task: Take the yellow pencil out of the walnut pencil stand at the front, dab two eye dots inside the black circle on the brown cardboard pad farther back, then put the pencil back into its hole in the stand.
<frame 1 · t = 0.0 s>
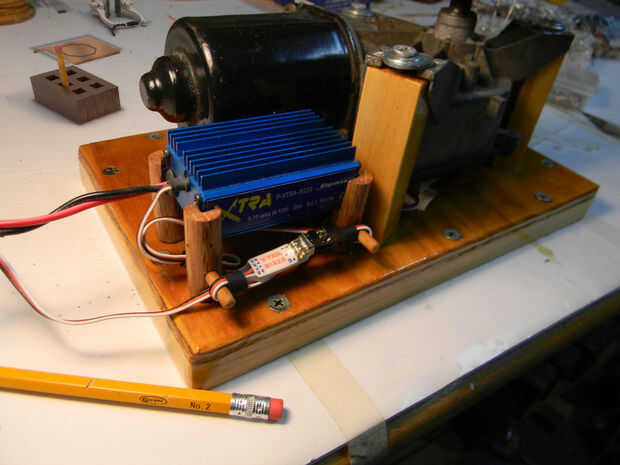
pencil: (71, 112, 97), resting in stand
pad: (78, 52, 120), on the table
bike brake: (121, 23, 141), on the table
stand: (79, 109, 98), on the table
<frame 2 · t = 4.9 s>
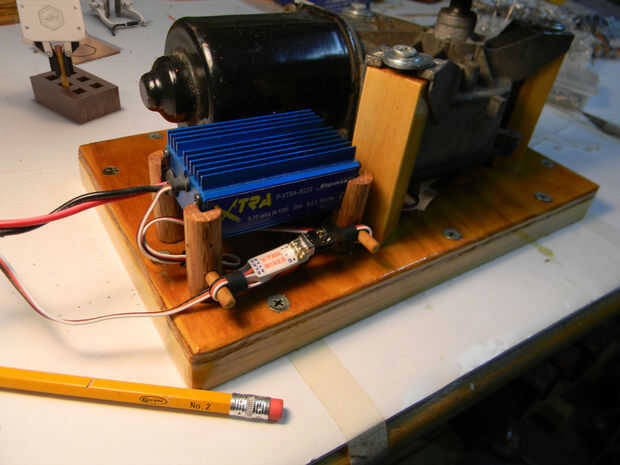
hand: (63, 74, 92), 8 cm above the table, tool pointing down, fingers closed on pencil, 1 cm apart
pencil: (71, 112, 97), resting in stand, touching gripper
everything else where it was.
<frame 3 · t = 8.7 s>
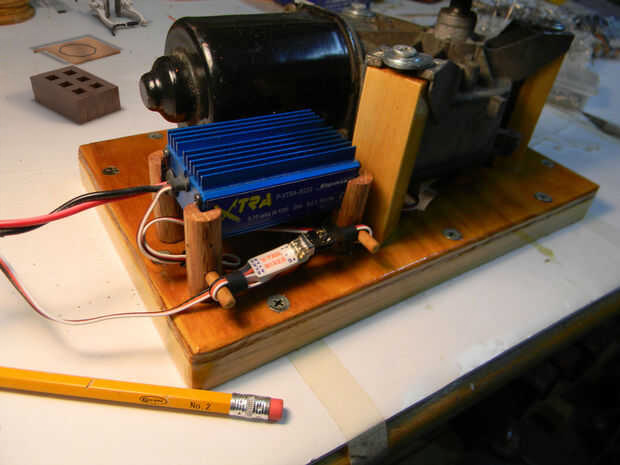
pencil: (76, 1, 110), point 13 cm above the table, touching gripper
everything else where it was.
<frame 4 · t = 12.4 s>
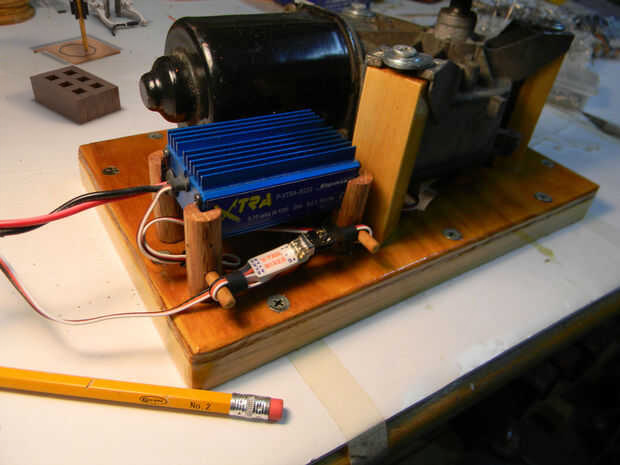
hand: (81, 17, 115), 9 cm above the table, tool pointing down, fingers closed on pencil, 1 cm apart
pencil: (86, 50, 120), point 1 cm above the table, touching gripper, pad
everything else where it was.
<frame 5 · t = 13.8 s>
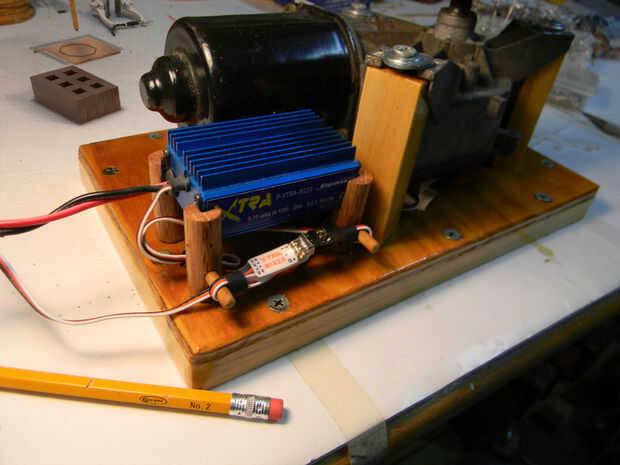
pencil: (76, 30, 118), point 5 cm above the table, touching gripper
everything else where it was.
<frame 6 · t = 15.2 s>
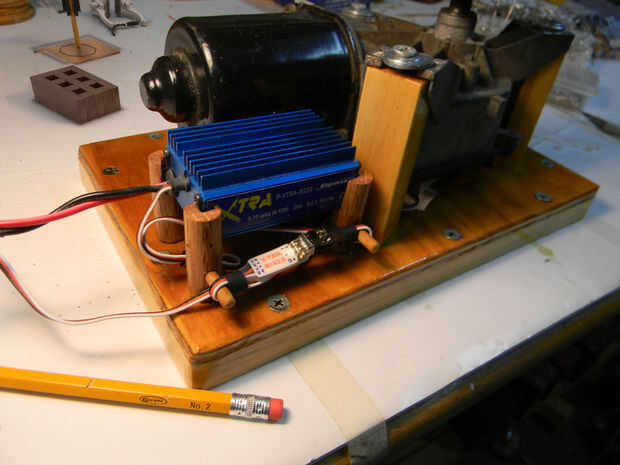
hand: (72, 14, 116), 9 cm above the table, tool pointing down, fingers closed on pencil, 1 cm apart
pencil: (78, 47, 121), point 1 cm above the table, touching gripper, pad
everything else where it was.
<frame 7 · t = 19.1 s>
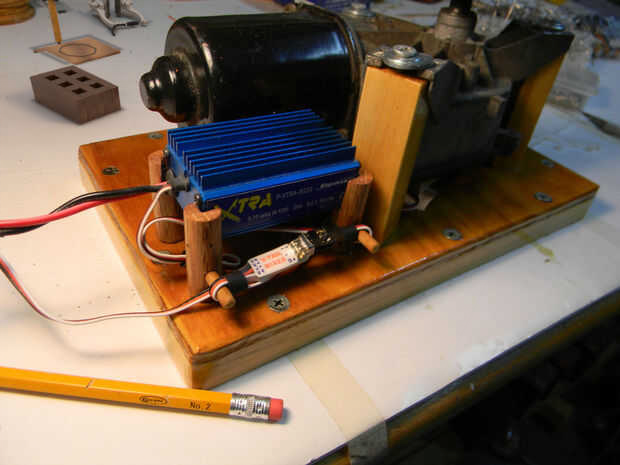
pencil: (59, 43, 90), point 13 cm above the table, touching gripper
everything else where it was.
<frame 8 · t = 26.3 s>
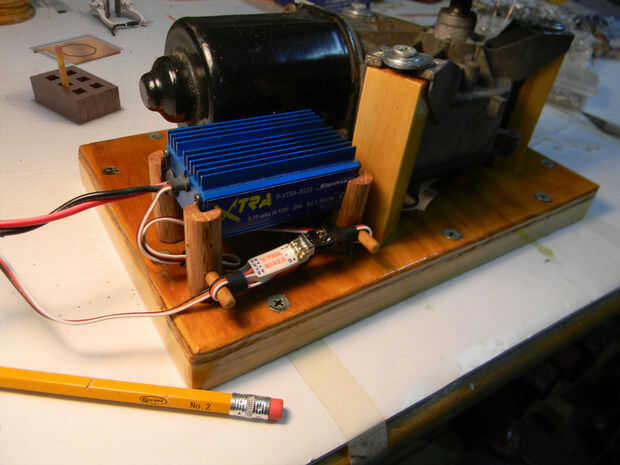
pencil: (71, 112, 97), resting in stand
everything else where it was.
at the end: pencil 0.1 cm from the target spot in the stand, point 0.0 cm above the stand's base; pencil tilted 0°; pencil touching table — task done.
